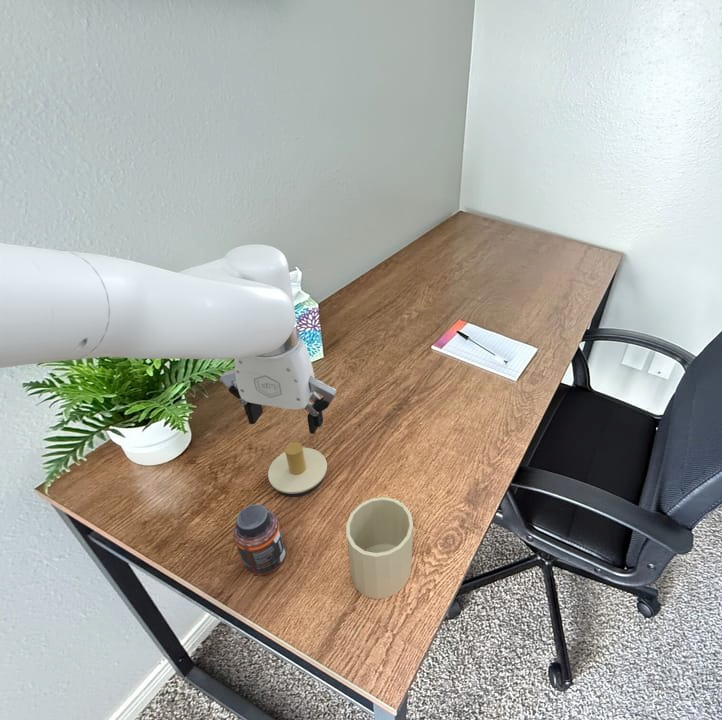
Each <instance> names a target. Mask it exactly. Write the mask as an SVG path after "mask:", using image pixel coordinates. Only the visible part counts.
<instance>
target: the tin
mask: <svg viewBox="0 0 722 720" xmlns="http://www.w3.org/2000/svg"><path fill="white" fill-rule="evenodd" d="M345 534H346V535H345V536H346V537H345V538H346V544H347V545H346V546H347V552H348V561H349V568H350V569H349V570H350V577H351V581H352V584H353V586H354V588H355V590H357V592H359V594H361V595H363V596H364V597H366V598H369V599H373V600H383V599H387V598H391V597H393V596H395V595H396V594H398V593H399V592H400V591H402V590H403V589H404V587H405V586H406V585H407V583H408V581H409V579H410V576H411V571H412V566H413V565H412V564H413V563H412V562H413V539H414V538H413V537H414V524H413V515H412V513H411V512H410V510H409V508H408V507H407V506H406V504H404V503H402V502H400V501H399V500H397V498H391V497H386V496H380V497H371V498H369V499H368V500H365V501H364V502H362V503H359V504H358V505H357V507H355V508H354V509H353V511H351V512H350V515H349V517H348V519H347V521H346V524H345Z"/></svg>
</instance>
